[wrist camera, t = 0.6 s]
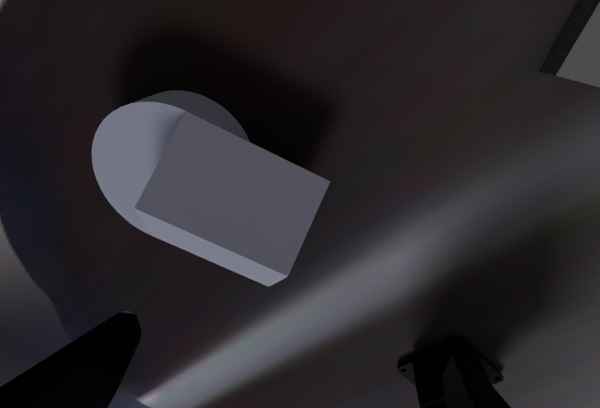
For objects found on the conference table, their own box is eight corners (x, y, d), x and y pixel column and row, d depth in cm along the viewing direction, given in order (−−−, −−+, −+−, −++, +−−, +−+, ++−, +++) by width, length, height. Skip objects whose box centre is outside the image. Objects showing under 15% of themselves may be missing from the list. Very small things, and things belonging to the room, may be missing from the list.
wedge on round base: (332, 159, 21) (139, 63, 19) (327, 212, 15) (50, 80, 14) (277, 256, 25) (116, 183, 24) (257, 326, 19) (41, 235, 18)
